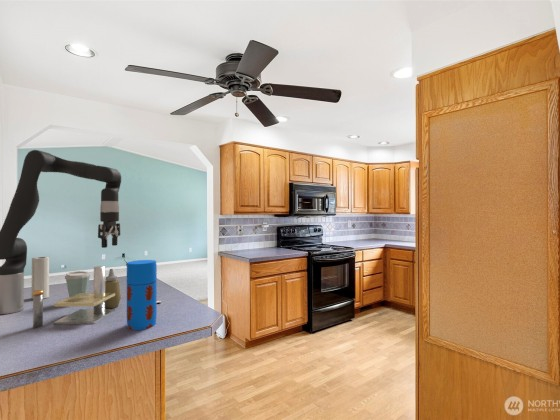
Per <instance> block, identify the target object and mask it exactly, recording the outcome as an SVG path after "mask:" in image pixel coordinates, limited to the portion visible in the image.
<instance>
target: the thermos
mask: <svg viewBox="0 0 560 420" xmlns="http://www.w3.org/2000/svg"><path fill="white" fill-rule="evenodd" d="M157 268H158V267H157V261H156V260H154V259H141V260H132V261H128V262H127V263H126V326H127V329H128V330H131V331H142V330H146V329H150V328H153V327H155V326H156V324H157V313H158V311H157V309H158V308H157V307H158V306H157V304H158V303H157V301H158V299H157V298H158V297H157V296H158V295H157V293H158V292H157V287H158V286H157V285H158V282H157V278H158V277H157V270H158V269H157Z"/></svg>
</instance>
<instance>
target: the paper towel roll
mask: <svg viewBox="0 0 560 420" xmlns="http://www.w3.org/2000/svg"><path fill="white" fill-rule="evenodd" d="M37 290H44V293H43V300H44V299H47V298H49V297H50V257H48V256H41V257H40V256H39V257H32V258H31V293H32V292H33V291H37ZM31 298H32V299H33V295H32V294H31Z"/></svg>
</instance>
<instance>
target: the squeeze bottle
mask: <svg viewBox="0 0 560 420" xmlns="http://www.w3.org/2000/svg"><path fill="white" fill-rule="evenodd" d="M114 272H115V271H114V268H109V271H108V276H105V293H115V296H113V297H111V298H109V299H107V300H105V309H115V308H116V307H117V308H118V307H119V305H120V302H121V299H122V297H121V296H122V295H121V287H120V286H121V285H120V281H119V280H117V279H118V276H117V275H115V273H114Z"/></svg>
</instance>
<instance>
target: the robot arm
mask: <svg viewBox="0 0 560 420" xmlns="http://www.w3.org/2000/svg"><path fill="white" fill-rule="evenodd" d="M41 173H60V174H61V173H62V174H67V175H71V176H74V177H77V178H82V179H87V180H94V181H98V182H101V183H105V187H104V188H103V189H101V191H100V204H99V205H100V207H99V211H100V213H99V215H100V216H99V220H100V223H101V222H103V223H102V224H98V227H97V228H98V229H97V238H98V239H100V240H101V248H104V249H106V248H108V237H109V236H110V235H111V245H112V246H118V238H119V237H120V236H121V223H118V222H120V203H119V192H120V188H121V185H122V175H121V172H120V171H119V170H118V169H116V168H111V167H108V166H103V165H97V164H93V163H92V164H91V163H87V162H83V161H75V160H69V159H64V158H62V157H59V156H56V155H53V154H51V153H49V152H46V151H42V150H37V149H33V150H31V151H30V150H29V151H28V152H27V154H26V155H25V157H24V160H23V164H22V168H21V173H20V177H19V180H18V183H17V186H16V190H15V191H14V192H15V193H14V195H13V197H12V200H11V202H10V206H9V207H8V212H7V214H6V217H5V219H4V222H3V223H2V225H1V226H2V227H1V228H0V260H1V261H2V260H4V263H3V264H1V265H0V315H6V314H13V313H18V312H20V311H23V310H24V309H25V305H24V304H25V291H24V290H25V268H26V266H27V258H28V257H27V255H28V246H27V243H26V241H25V240H24V239H23V238H21V237H18V235H19V233H20V232H21V231H22V229H23V228H24V226H25V225H26V224H28V223H29V221H30V220H31V219H32V218H33V217H34V216H35V214H36V212H37V208H38V207H39V203H40V195H39V194H40V193H39V189H38V181H39V179H40V178H39V177H40V175H41Z"/></svg>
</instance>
